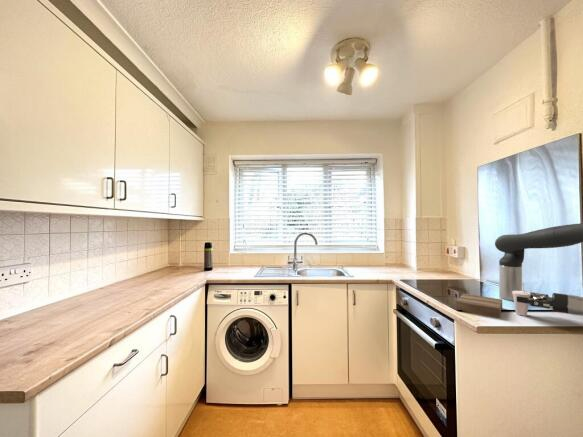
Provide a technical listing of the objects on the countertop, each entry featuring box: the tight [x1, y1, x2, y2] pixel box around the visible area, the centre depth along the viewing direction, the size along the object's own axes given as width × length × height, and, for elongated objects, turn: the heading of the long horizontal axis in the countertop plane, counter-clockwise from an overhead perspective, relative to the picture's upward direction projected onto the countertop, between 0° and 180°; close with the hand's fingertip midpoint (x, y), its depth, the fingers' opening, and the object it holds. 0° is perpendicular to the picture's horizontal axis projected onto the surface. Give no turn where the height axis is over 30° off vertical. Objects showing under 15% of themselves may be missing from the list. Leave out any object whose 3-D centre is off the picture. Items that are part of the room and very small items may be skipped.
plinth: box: [455, 293, 503, 319], centre depth 130 cm, size 16×16×4 cm
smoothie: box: [512, 282, 531, 317], centre depth 123 cm, size 6×6×14 cm
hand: (517, 296), depth 123 cm, fingers open, 8 cm apart
